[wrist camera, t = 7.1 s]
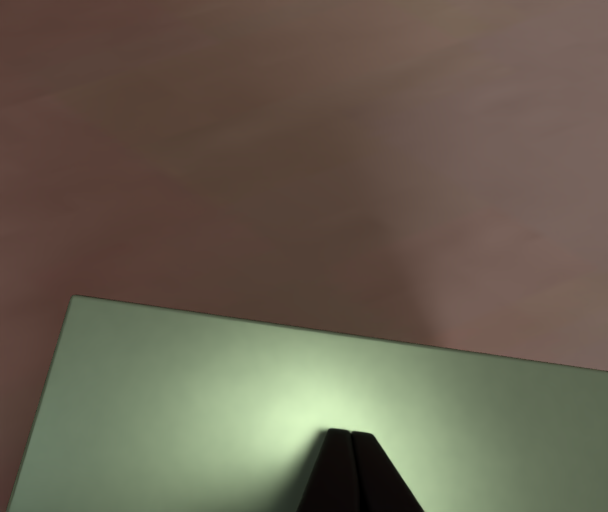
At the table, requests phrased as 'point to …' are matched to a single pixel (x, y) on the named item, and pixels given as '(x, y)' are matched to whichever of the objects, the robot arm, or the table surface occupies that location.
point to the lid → (297, 418)
